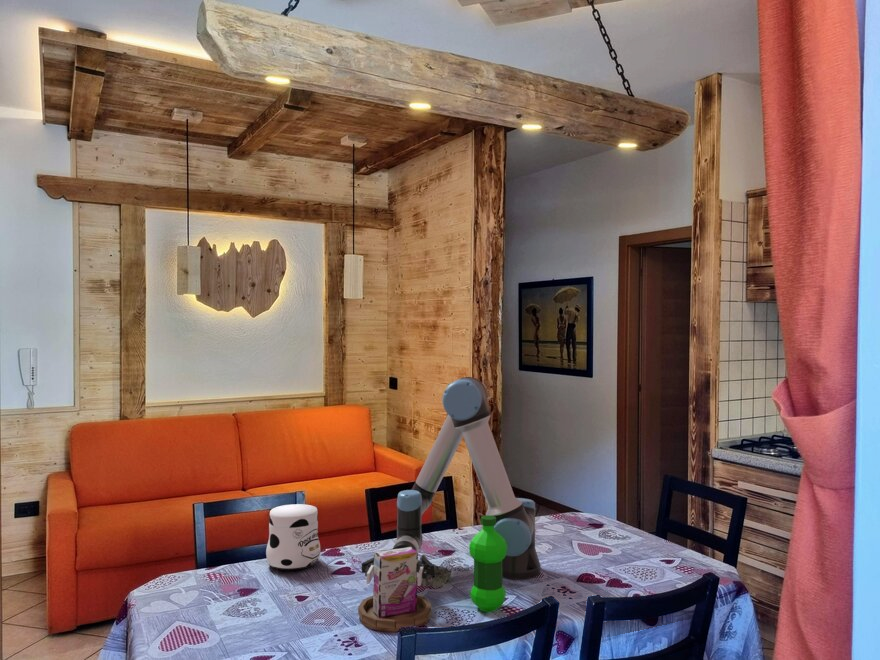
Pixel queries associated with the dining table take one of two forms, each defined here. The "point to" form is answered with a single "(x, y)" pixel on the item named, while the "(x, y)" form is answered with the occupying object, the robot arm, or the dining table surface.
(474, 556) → the plastic bottle
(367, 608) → the tray
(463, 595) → the dining table surface
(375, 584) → the candy bar box
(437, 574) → the egg carton
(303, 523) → the milk container
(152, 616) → the dining table surface
